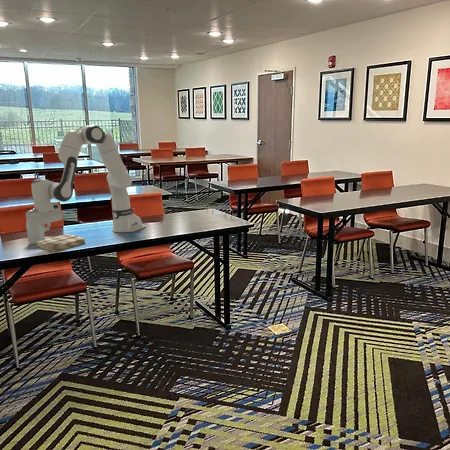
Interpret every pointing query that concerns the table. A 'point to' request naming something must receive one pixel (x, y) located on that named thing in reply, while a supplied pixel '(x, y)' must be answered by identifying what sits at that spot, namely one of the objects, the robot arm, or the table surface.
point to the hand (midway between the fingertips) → (46, 230)
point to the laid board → (65, 243)
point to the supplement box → (35, 234)
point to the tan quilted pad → (52, 240)
